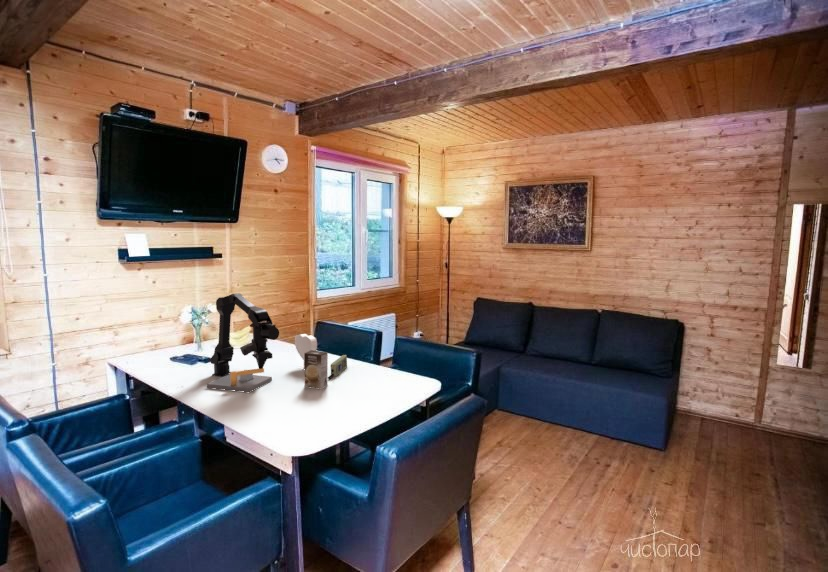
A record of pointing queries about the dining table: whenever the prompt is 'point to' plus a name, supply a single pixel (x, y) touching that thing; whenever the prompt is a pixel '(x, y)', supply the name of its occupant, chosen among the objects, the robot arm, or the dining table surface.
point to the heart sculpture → (305, 344)
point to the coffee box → (315, 369)
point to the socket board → (239, 383)
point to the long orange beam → (244, 372)
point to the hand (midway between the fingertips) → (260, 369)
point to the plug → (246, 377)
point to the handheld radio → (338, 366)
